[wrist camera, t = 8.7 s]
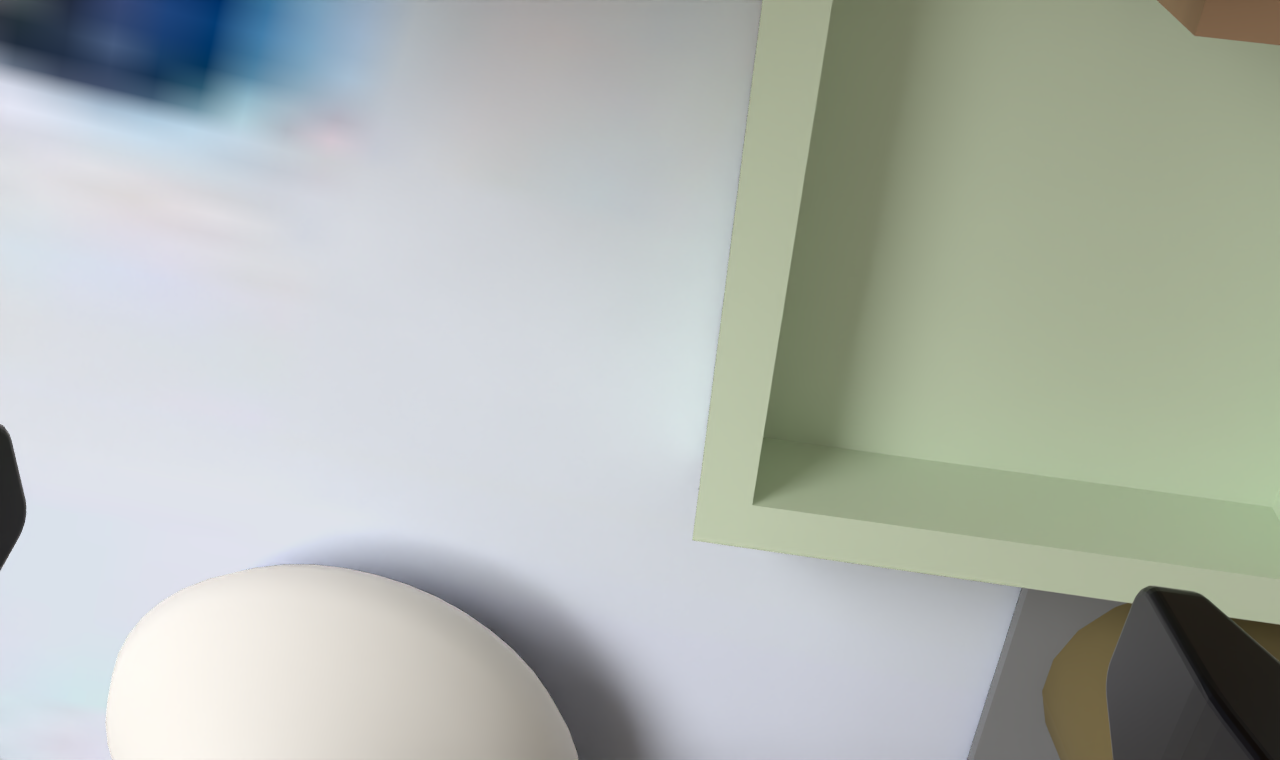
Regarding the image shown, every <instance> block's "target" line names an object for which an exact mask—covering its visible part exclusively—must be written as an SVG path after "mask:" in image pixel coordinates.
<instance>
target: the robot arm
mask: <svg viewBox="0 0 1280 760" xmlns="http://www.w3.org/2000/svg"><path fill="white" fill-rule="evenodd" d="M25 518H26V500H25V496H24V492H23V487H22V483H21V479H20V475H19V470H18V466H17V462H16V458H15V453H14V449H13V445H12V441H11V437H10V435H9V433H8V431H7V430H6V429H5V427H4V426H3V425H1V424H0V570H1V568H2V567H3V565H4V563H5V561H6V560H7V558H8V556H9V554H10V552H11V551H12V549H13V547H14V545H15V543H16V542H17V540H18V538H19V536H20V534H21V532H22V529H23V526H24V523H25ZM1106 699H1107V709H1108V718H1109V727H1110V736H1111V746H1112V755H1113V760H1280V662H1279V661H1278V660H1277V659H1276V658H1275V657H1274V656H1273V655H1271V654H1270V653H1269V652H1268V651H1267V650H1266V649H1265V648H1263V647H1262V646H1261V645H1260V644H1259V643H1258V642H1257V641H1255V640H1254V639H1253V638H1252V637H1251V636H1250V635H1249V634H1247V633H1246V632H1245V631H1244V630H1243V629H1242V628H1241V627H1239V626H1238V625H1237V624H1236V623H1235V622H1234V621H1233V620H1231V619H1230V618H1229V617H1228V616H1227V615H1226V614H1225V613H1223V612H1222V611H1221V610H1220V609H1219V608H1218V607H1217V606H1215V605H1214V604H1213V603H1212V602H1211V601H1210V600H1209V599H1207V598H1206V597H1205V596H1203V595H1202V594H1200V593H1197V592H1194V591H1188V590H1181V589H1174V588H1167V587H1160V586H1147V587H1145V588H1143V589H1141V590H1140V591H1139V593H1138V594H1137V595H1136V597H1135V599H1134V601H1133V603H1132V606H1131V608H1130V611H1129V613H1128V616H1127V619H1126V621H1125V624H1124V626H1123V629H1122V632H1121V634H1120V637H1119V639H1118V642H1117V645H1116V647H1115V650H1114V652H1113V655H1112V658H1111V660H1110V663H1109V667H1108V671H1107V678H1106Z"/></svg>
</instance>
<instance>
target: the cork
mask: <svg viewBox="0 0 1280 760" xmlns="http://www.w3.org/2000/svg"><path fill="white" fill-rule="evenodd" d="M1131 606H1132V603H1126V604H1123V605H1120V606H1117V607H1115V608H1113V609H1111V610H1110V611H1108V612H1107V613H1105V614H1104V615H1102V616H1100V617H1099V618H1097V619H1096V620H1094V621H1093V622H1091V623H1089V624H1088V625H1086V626H1085V627H1083V628H1082V629H1080V630H1078V631H1077V633H1076V634H1075V635H1074V636H1073V637H1072V638H1071V640H1070V641H1069V642H1068V643H1067V644H1066V645H1065V647H1064V648H1063V649H1062V650H1061V651H1060V653H1059V654H1058V655H1057V656H1056V657H1055V658H1054V660H1053V662H1052V665H1051V668H1050V670H1049V673H1048V676H1047V679H1046V682H1045V685H1044V688H1043V690H1042V696H1043V706H1044V715H1045V723H1046V726H1047V728H1048V731H1049V733H1050V736H1051V738H1052V741H1053V743H1054V745H1055V748H1056V750H1057V753H1058V755H1059V758H1060V760H1113V755H1112V746H1111V736H1110V727H1109V718H1108V709H1107V699H1106V678H1107V671H1108V667H1109V663H1110V660H1111V658H1112V655H1113V652H1114V650H1115V647H1116V645H1117V642H1118V639H1119V637H1120V634H1121V632H1122V629H1123V626H1124V624H1125V621H1126V619H1127V616H1128V613H1129V611H1130V608H1131ZM1229 618H1230V617H1229ZM1230 619H1231V620H1233V621H1234V622H1235V623H1236V624H1237V625H1238V626H1239V627H1241V628H1242V629H1243V630H1244V631H1245V632H1246V633H1247V634H1249V635H1250V636H1251V637H1252V638H1253V639H1254V640H1255V641H1257V642H1258V643H1259V644H1260V645H1261V646H1262V647H1263V648H1265V649H1266V650H1267V651H1268V652H1269V653H1270V654H1271V655H1273V656H1274V657H1275V658H1276V659H1277V660H1278V661H1279V662H1280V625H1279V624H1272V623H1265V622H1258V621H1251V620H1244V619H1237V618H1230Z"/></svg>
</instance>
